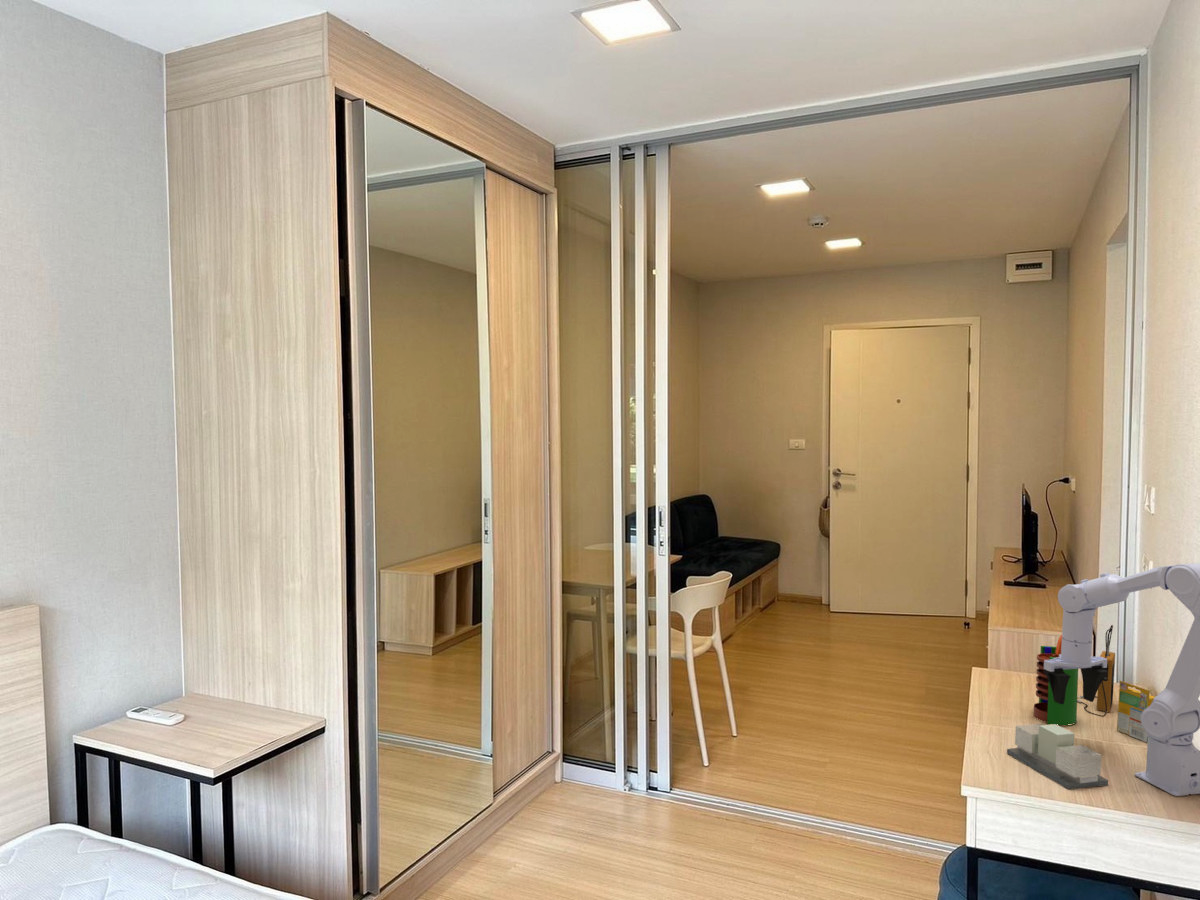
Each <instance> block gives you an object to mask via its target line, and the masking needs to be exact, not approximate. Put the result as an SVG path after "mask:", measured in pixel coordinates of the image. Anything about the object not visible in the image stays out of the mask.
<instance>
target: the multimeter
mask: <svg viewBox="0 0 1200 900" xmlns="http://www.w3.org/2000/svg"><path fill="white" fill-rule="evenodd" d="M1113 628H1114V625H1113V624H1110V627H1109V628H1108V629H1107V630H1106V632H1105V636H1104V637H1105V650H1103V651H1102V652H1101V654H1100V656H1099V657H1103V658H1106V659H1107V668H1102V669H1104V670H1107V676H1106V677H1105V678H1104V679H1103V681H1102V682H1101V684H1100V686H1099V688H1098V690H1097V693H1096V695H1095V698H1096V710H1097V711H1101V712H1104V715H1100V714H1097V713H1094V712H1091V711H1089V710H1087V709H1086V708H1087V707H1089V706H1088V705H1089V704H1087V703H1085V702H1082V701H1081V700H1079V698H1080V699H1084V698H1083V695H1080V696H1077V701H1078V702H1077V703H1079V702H1080V704H1083V705H1084V707H1083V709H1084V710H1085V711H1086V712H1088V713H1090V714H1091V715H1095V716H1098V717H1106V715H1107V713H1110V712H1111V709H1112V707H1113V700H1114V699H1113V698H1114V687H1115V686H1114V683H1115V666H1116V665H1115V664H1116V652H1112V651H1110V645H1111V639H1112V634H1113Z"/></svg>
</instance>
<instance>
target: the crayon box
mask: <svg viewBox="0 0 1200 900" xmlns="http://www.w3.org/2000/svg"><path fill="white" fill-rule="evenodd" d="M1129 687H1130V688H1129ZM1133 688H1134V689H1133ZM1155 697H1156V696H1155V695H1151V694H1150V690H1149V689H1146V688H1143V687H1140V686H1138V685H1134V684H1131V683H1129V682H1125V681H1123V680H1119V690H1118V704H1117V705H1118V706H1117V707H1118V708H1117V719H1116V720H1117V721H1116V731H1117V732H1119V733H1123V734H1125V735H1127V736H1130V737H1132V738H1135V739H1137V740H1140V741H1143V742H1144V743H1148V737H1147V733H1146V731H1145V730H1144V728H1143V726H1142V724H1141V714H1142V712H1143V710H1144V709H1146V708H1147V707H1149V706H1150V705H1151V704H1152V702H1153V699H1154V698H1155Z"/></svg>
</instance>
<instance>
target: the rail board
mask: <svg viewBox="0 0 1200 900" xmlns="http://www.w3.org/2000/svg"><path fill="white" fill-rule="evenodd" d="M1040 725H1043V724H1042V723H1032V724H1031V723H1030V724H1021V725H1015V735H1014V745H1015V746H1017V747H1015V748H1014V747H1012V748H1007V749H1006V754H1007V755H1009V756H1010V757H1012V758H1014V759H1016V760H1018V761H1019V762H1021V763H1022V764H1024V765H1026V766H1028V767H1029V768H1031V769H1033V770H1035V771H1036V772H1037V773H1040V774H1042V775H1043V776H1045V777H1047V778H1048V779H1050V780H1051V781H1053V782H1055V783H1057V784H1058V785H1060V786H1062V787H1063V788H1065V789H1067V790H1076V789H1077V790H1078V789H1084V788H1085V787H1087V788H1093V787H1094V786H1096V787H1103V786H1108V785H1109V779H1107V778H1106V777H1103V776H1102V775H1101V770H1102V769H1101V768H1102V754H1101V753H1098V752H1097V751H1095V750H1093V749H1091V748H1089V747H1086V746H1085V745H1084V744H1080V745H1079V744H1078V745H1074V746H1066V747H1057V750H1056V764H1054V763H1052V762H1051V761H1049V760H1047V759H1045V758H1043V757H1042V756H1040V755H1038V737H1039V726H1040Z"/></svg>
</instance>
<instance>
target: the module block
mask: <svg viewBox="0 0 1200 900" xmlns="http://www.w3.org/2000/svg"><path fill="white" fill-rule="evenodd" d="M1066 746H1075V732H1073V731H1071V730H1069V729H1066V728H1065V727H1063V726H1058V725H1056V724H1052V725H1050V724H1044V725H1043V724H1042V725H1040V726H1039V737H1038V755H1040V756H1042V757H1043V758H1045V759H1047V760H1049V761H1051V762H1052V763H1054V764H1056V750H1057V747H1066Z"/></svg>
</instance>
